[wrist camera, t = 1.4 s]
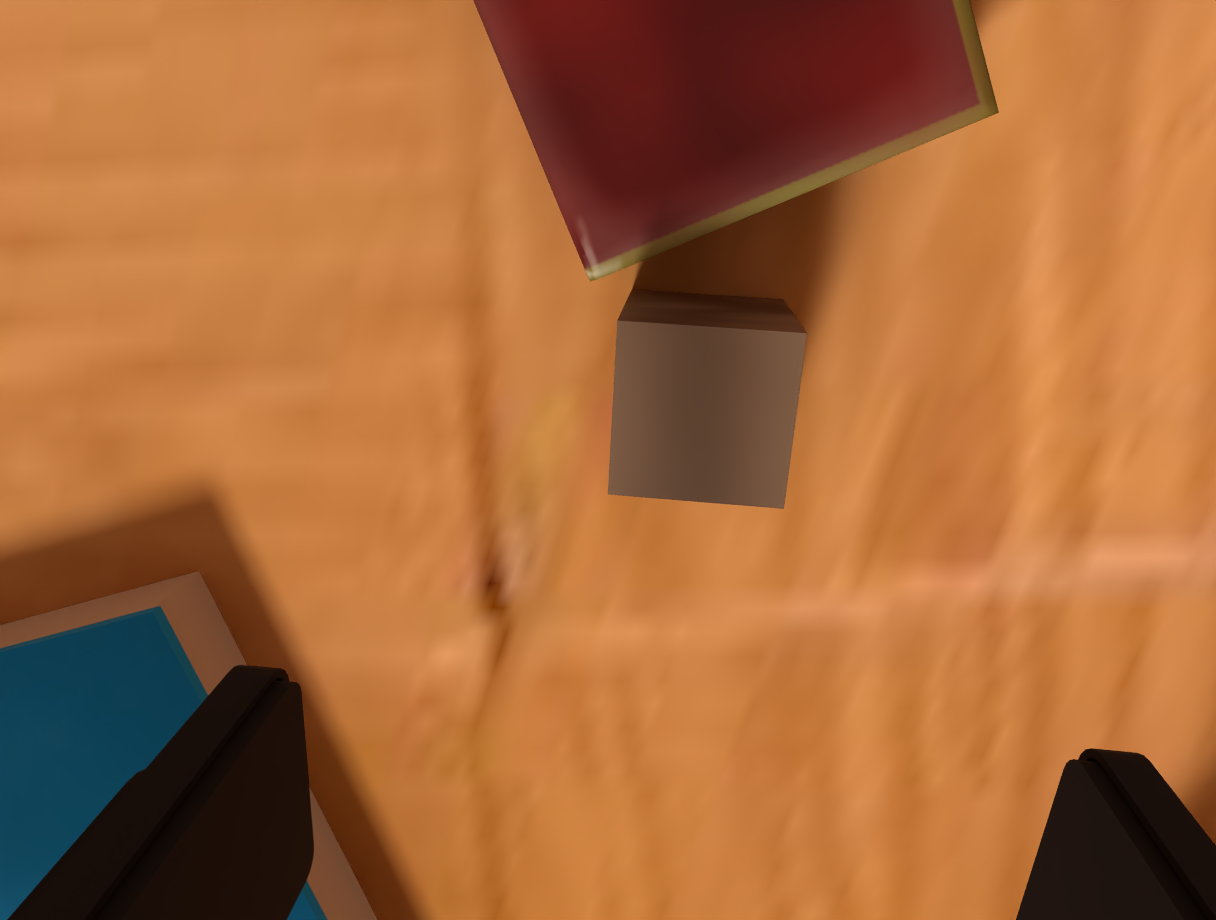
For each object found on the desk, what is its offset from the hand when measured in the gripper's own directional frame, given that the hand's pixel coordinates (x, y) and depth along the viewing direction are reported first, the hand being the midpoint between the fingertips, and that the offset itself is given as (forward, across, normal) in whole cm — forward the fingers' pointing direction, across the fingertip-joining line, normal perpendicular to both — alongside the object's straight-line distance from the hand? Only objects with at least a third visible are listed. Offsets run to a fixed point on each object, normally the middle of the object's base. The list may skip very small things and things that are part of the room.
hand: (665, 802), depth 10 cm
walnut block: (+20, -1, -1) cm, 20 cm away
